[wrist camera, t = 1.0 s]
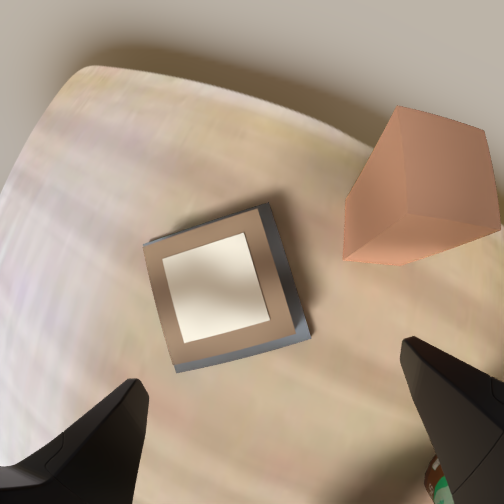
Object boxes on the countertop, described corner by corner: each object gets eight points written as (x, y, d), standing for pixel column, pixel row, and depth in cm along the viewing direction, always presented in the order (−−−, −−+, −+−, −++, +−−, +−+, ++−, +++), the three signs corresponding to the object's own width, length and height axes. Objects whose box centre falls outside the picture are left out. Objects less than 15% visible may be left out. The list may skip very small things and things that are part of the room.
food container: (391, 476, 19) (428, 538, 9) (441, 432, 19) (497, 477, 9) (440, 515, 16) (473, 561, 6) (481, 478, 16) (524, 515, 7)
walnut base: (310, 337, 22) (314, 343, 19) (178, 371, 22) (164, 380, 19) (268, 204, 24) (266, 191, 21) (146, 245, 24) (128, 238, 21)
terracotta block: (400, 265, 22) (501, 229, 9) (342, 260, 22) (407, 213, 10) (400, 206, 23) (484, 130, 10) (345, 199, 23) (396, 105, 10)
